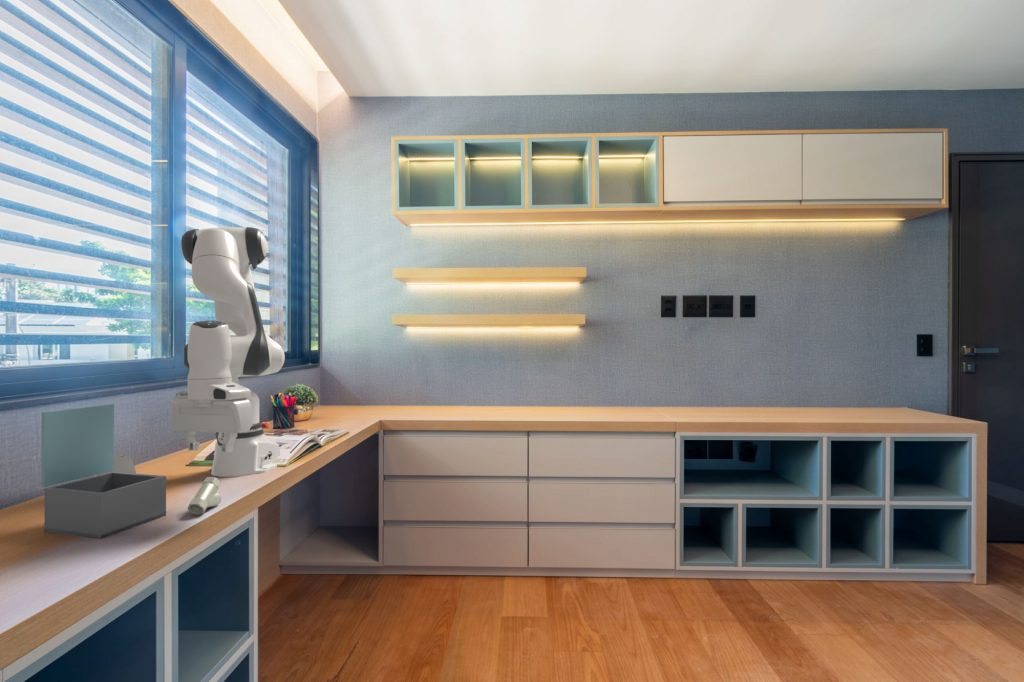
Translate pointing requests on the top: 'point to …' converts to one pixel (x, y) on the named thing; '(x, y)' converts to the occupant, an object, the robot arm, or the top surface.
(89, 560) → the top surface
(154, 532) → the top surface
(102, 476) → the box
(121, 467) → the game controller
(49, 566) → the top surface
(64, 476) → the lid
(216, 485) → the pipe fitting
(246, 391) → the robot arm
